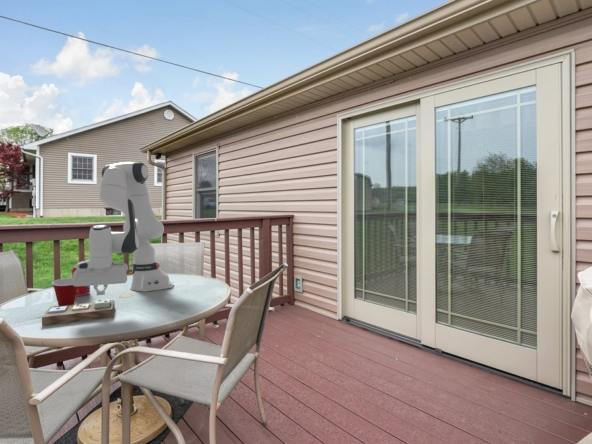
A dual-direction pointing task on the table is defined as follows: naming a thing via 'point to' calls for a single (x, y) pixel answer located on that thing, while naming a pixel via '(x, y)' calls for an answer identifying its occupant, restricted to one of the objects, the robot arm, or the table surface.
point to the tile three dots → (81, 307)
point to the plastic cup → (65, 291)
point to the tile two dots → (103, 303)
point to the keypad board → (78, 314)
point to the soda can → (81, 289)
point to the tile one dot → (57, 309)
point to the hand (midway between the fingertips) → (100, 294)
